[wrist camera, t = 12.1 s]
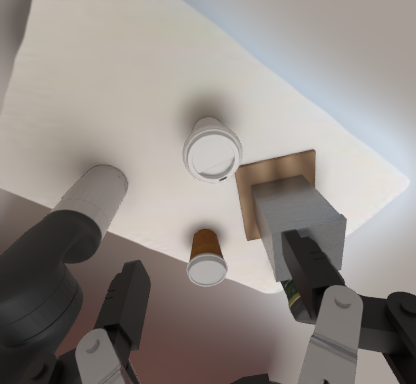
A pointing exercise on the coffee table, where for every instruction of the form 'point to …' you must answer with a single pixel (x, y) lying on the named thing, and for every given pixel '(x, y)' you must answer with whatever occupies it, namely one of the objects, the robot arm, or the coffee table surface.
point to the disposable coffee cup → (206, 260)
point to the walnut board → (269, 172)
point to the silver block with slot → (296, 219)
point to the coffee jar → (296, 303)
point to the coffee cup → (212, 151)
